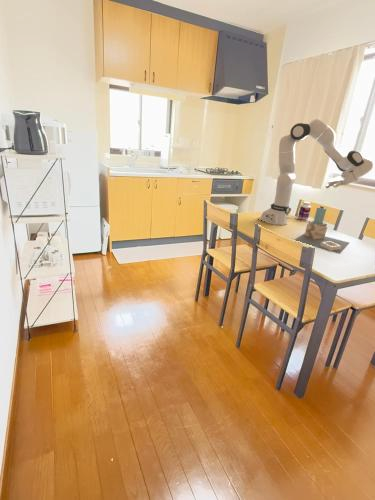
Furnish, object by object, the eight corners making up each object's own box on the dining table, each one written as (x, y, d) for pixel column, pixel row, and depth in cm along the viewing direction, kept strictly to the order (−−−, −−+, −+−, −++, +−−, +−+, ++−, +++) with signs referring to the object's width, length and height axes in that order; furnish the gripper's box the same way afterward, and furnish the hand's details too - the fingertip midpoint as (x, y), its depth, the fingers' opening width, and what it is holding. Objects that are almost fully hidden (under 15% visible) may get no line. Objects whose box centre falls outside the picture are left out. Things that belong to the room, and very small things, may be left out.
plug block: (312, 224, 186) (317, 205, 181) (317, 224, 188) (322, 205, 183) (317, 226, 183) (322, 207, 178) (321, 226, 184) (326, 207, 179)
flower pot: (280, 213, 244) (281, 205, 241) (291, 216, 238) (293, 208, 235) (275, 215, 236) (277, 207, 234) (287, 218, 231) (288, 210, 228)
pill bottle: (302, 220, 227) (306, 203, 222) (295, 217, 234) (299, 201, 229) (309, 220, 230) (314, 203, 225) (302, 217, 237) (306, 201, 232)
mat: (292, 241, 177) (293, 240, 177) (306, 232, 197) (306, 231, 197) (339, 254, 161) (339, 253, 161) (349, 243, 181) (349, 242, 181)
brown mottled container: (304, 234, 190) (307, 220, 187) (314, 233, 194) (317, 220, 190) (314, 238, 183) (318, 224, 179) (324, 238, 186) (328, 224, 182)
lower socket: (320, 245, 171) (321, 242, 170) (329, 244, 174) (330, 241, 173) (330, 250, 165) (331, 246, 164) (340, 249, 168) (341, 245, 167)
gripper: (337, 173, 191) (319, 183, 192) (356, 170, 171) (336, 181, 172) (341, 181, 192) (323, 191, 193) (360, 179, 172) (340, 190, 173)
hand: (330, 187), depth 182 cm, fingers open, 8 cm apart
